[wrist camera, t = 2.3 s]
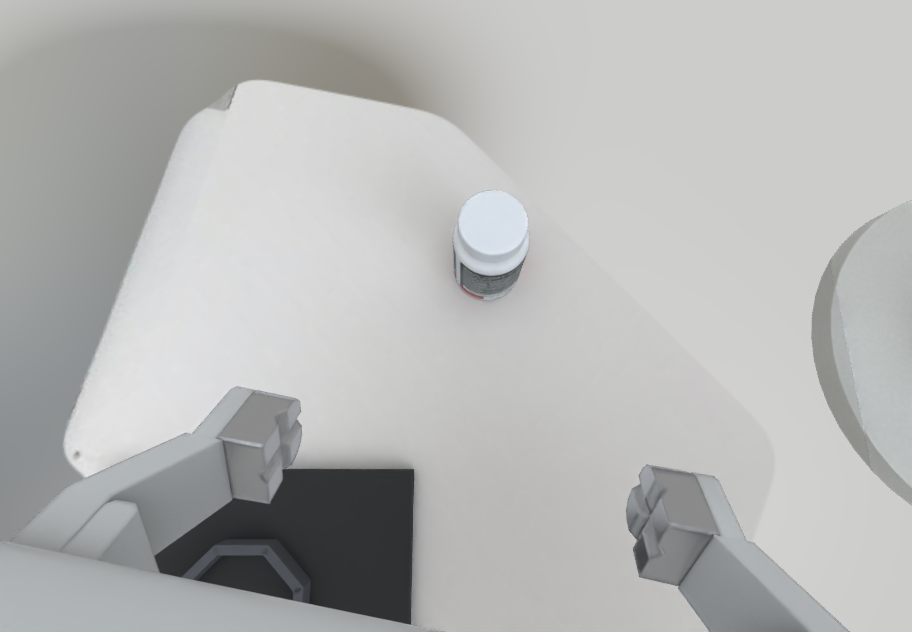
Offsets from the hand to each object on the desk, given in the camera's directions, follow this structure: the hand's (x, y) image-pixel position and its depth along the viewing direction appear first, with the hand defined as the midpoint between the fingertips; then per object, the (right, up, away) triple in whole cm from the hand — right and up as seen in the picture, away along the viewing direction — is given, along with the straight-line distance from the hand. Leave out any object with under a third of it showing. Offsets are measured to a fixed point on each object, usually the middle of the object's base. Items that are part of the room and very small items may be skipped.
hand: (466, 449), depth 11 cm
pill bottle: (+2, +6, +24) cm, 24 cm away
